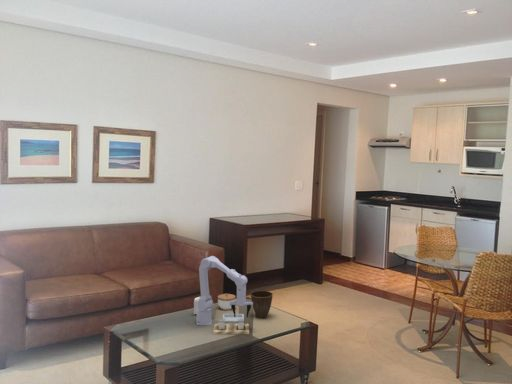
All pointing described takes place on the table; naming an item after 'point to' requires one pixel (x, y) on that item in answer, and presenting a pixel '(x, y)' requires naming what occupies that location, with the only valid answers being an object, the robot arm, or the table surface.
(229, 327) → the wooden frame board
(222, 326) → the block
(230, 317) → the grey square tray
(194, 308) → the photo printer
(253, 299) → the plant pot
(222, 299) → the lidded bowl
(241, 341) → the table surface
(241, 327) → the loose billet
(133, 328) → the table surface
